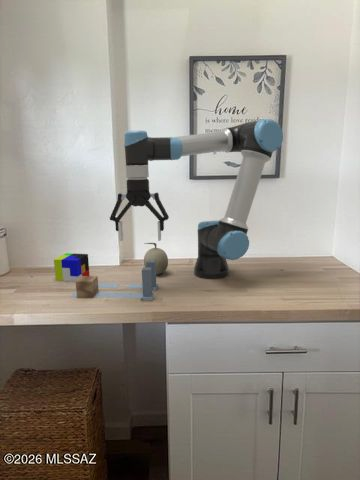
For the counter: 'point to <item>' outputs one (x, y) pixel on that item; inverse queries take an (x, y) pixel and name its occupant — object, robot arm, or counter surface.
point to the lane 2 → (154, 286)
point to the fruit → (157, 258)
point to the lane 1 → (144, 296)
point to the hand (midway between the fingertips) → (140, 240)
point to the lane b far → (108, 285)
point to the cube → (87, 286)
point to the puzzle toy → (71, 267)
